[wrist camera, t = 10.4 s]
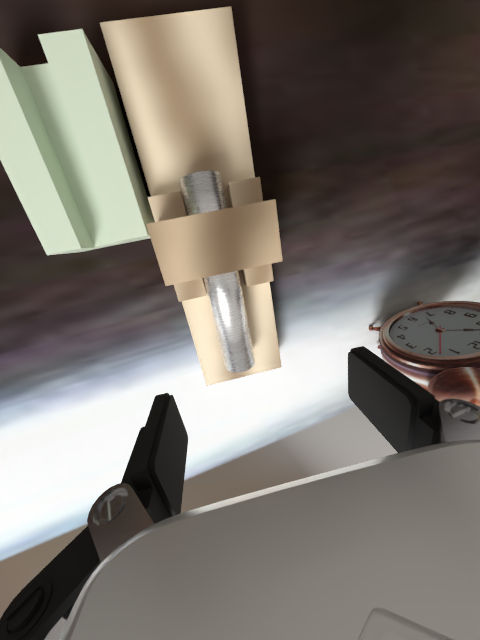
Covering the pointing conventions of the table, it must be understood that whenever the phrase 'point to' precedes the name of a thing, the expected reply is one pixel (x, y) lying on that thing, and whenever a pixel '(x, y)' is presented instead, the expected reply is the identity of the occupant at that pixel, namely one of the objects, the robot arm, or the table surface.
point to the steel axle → (221, 278)
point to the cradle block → (70, 149)
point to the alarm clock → (436, 347)
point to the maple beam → (199, 169)
